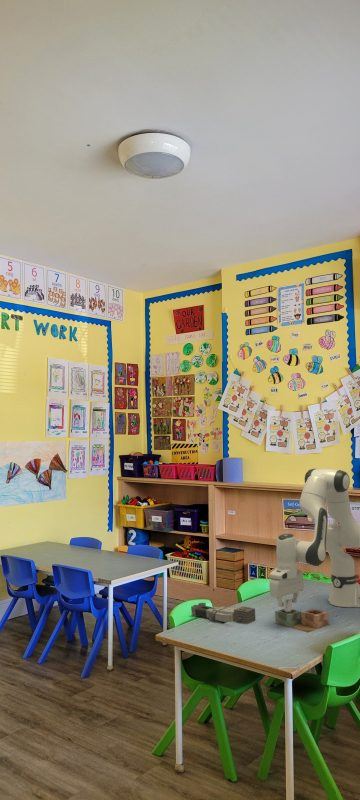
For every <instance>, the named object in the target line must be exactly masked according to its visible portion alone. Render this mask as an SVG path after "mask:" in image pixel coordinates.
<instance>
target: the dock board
mask: <svg viewBox="0 0 360 800" xmlns="http://www.w3.org/2000/svg"><path fill="white" fill-rule="evenodd" d="M274 613H275V614H274V615H275V616H274V617H275V618H274V619H275V621H274V624H275V625H278V626H283V627H287V628H290V629H293V630H297V631H301V632H304V633H311V632H313V631H316V630H319V629H321V628H323V627H326V626H329V625H331V624H329V612H328V611H324V610H319V609H316V608H311V609H308V610H304V611H301V610H297V609H293V608H292V613H285V607H283V608H281V609H278V610H275V611H274Z"/></svg>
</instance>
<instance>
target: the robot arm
mask: <svg viewBox="0 0 360 800" xmlns="http://www.w3.org/2000/svg"><path fill="white" fill-rule="evenodd" d="M350 484H351V479H350V476H349V474H348V473H347V472H346V471H345V470H341V469H339V470H338V469H332V468H311V469H309V470H307V472H306V473H305V475H304V486H303V488H302V492H301V495H300V498H299V507H300V510H301V511H302V512H303V513H304V515H306V516H308V517H309V518H311V519H312V520H313V521H314V531H313V540H312V541H307V540H301V539H298V538H296V536H295V535H294V534H292V533H283V534H281V535H279V536H278V537H277V540H276V550H275V552H276V557H277V558H276V560H277V561H276V567H275V568H274V569H273V570H272V571H271V572H270V573H269V576H268V577H269V578H270V579H269V595H270V596H271V597H272V598H275V599H276V600H277V603H278V604H277V605H278V607H280V608H282V607H283V608H284V607H285V606H284V601H283V597H284V596H285V597H286V596H288V595H293V596H292V598H291V603H293V604H296V603H298V598H299V597H298V596H299V594H300V592H304V590H305V581H304V575H303V572H302V571H301V569H298V563H301V564H307V565H310V566H314V567H319V566H321V565H322V564H323V563H324V562H325V560H326V557H327V553H328V555H329V558H330V565H331V566H330V567H331V575H330V579H331V584H330V585H329V597H327V602H328V603H329V604H330V605H332V606H336V607H342V608H360V584H359V582H358V580H359V579H360V574H356V572H355V571H356V570H355V560H354V558H353V557H352V556H351V555H350V554H348V553H346V552H345V551H344V549H343V548H355V549H356V548H360V523H359V522H358V521H357V520H356V519H355V517H354V516H353V515H354V514H353V513H352V509H351V504H350V497H349V490H348V489H349V487H350ZM325 502H326V507H327V509H325ZM328 516H329V517H330V518H331V519H333V520H335V521H336V522H338V523H328V522H329V519H328V518H329V517H328ZM297 562H298V563H297Z"/></svg>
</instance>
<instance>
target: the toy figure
mask: <svg viewBox="0 0 360 800" xmlns="http://www.w3.org/2000/svg"><path fill="white" fill-rule="evenodd" d="M206 604H207V602H198V603H197V604H196V603H195V604H193V605H191V606H190V609H191V617H192V618H197V617H203V618H207V619H209V620H211V621H219V622H223V623H228V622H231V623H232V622H236V623H241V624H246V625H249V624H252V623H253V622H256V608H255V607H249V606H248V607H247V606H240V607H237V608H236V607H229V606H225V605H223V606H218V607H217V606H208V605H206Z"/></svg>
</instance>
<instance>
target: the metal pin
mask: <svg viewBox="0 0 360 800" xmlns="http://www.w3.org/2000/svg"><path fill="white" fill-rule="evenodd" d="M283 602H284V606H283V607H284V608H285V613H292V609H293V607H292V598H291V599H290V598H284V600H283Z"/></svg>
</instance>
